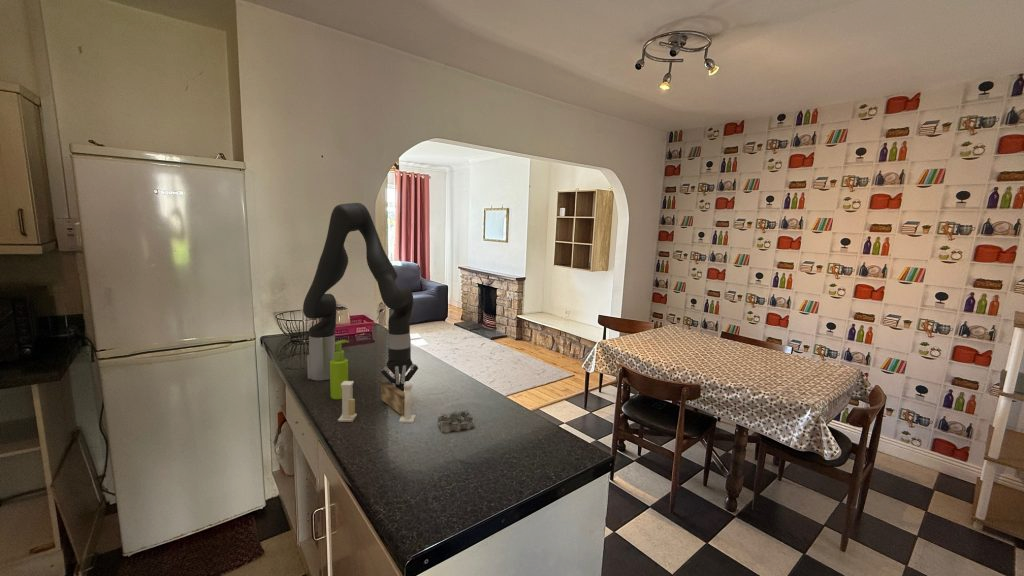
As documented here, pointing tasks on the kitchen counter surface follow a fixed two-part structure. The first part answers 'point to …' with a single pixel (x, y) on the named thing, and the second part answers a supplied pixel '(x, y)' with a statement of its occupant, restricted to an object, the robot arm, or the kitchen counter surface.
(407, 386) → the hinge post
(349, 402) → the post
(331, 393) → the soap dispenser
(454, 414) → the egg carton
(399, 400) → the gate
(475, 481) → the kitchen counter surface
